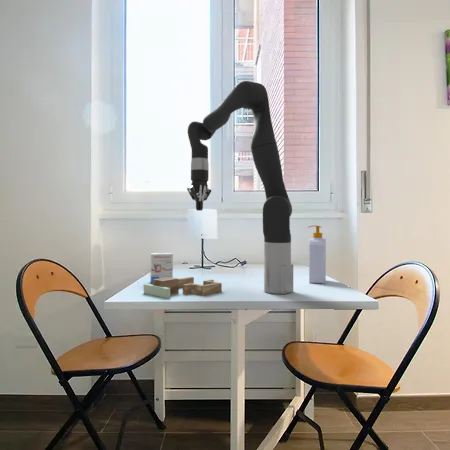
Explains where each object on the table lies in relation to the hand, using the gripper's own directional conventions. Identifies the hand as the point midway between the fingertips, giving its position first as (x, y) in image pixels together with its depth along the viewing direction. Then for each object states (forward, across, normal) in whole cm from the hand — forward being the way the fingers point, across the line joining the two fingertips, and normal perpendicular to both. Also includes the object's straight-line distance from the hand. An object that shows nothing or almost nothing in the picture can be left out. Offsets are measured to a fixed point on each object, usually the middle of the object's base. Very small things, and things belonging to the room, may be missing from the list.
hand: (199, 210), depth 150 cm
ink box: (+30, -16, +6) cm, 34 cm away
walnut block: (+29, -29, -13) cm, 43 cm away
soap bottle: (+29, +26, -42) cm, 57 cm away
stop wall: (+29, -33, -13) cm, 46 cm away
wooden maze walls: (+29, -19, -16) cm, 38 cm away
